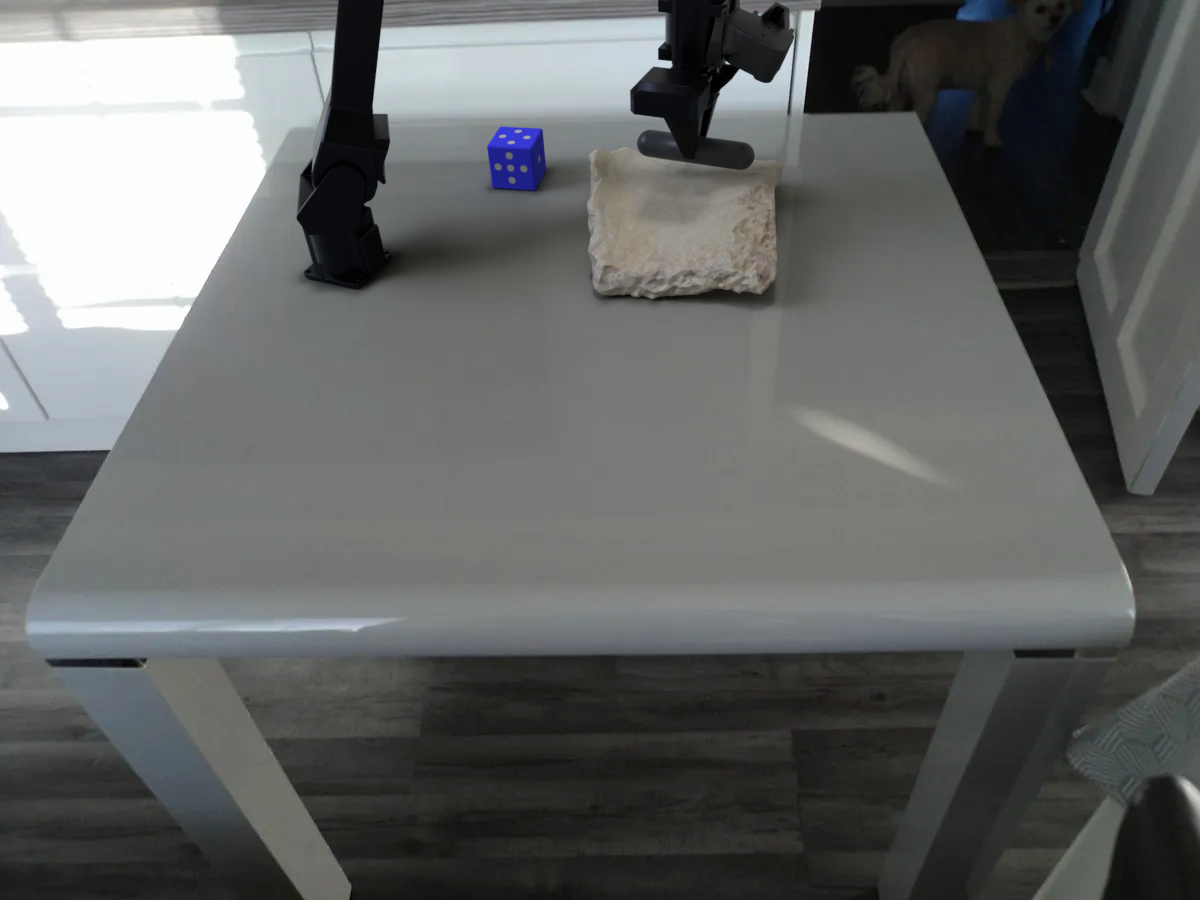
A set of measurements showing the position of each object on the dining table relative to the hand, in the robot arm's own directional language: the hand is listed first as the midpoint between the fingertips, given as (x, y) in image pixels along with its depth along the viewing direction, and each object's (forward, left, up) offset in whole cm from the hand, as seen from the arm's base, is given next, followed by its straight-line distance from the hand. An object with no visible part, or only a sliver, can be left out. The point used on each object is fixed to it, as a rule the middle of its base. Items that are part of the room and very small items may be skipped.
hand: (693, 152), depth 89 cm
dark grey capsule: (0, 0, -1) cm, 1 cm away
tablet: (0, -4, -7) cm, 8 cm away
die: (-21, +2, -7) cm, 22 cm away
